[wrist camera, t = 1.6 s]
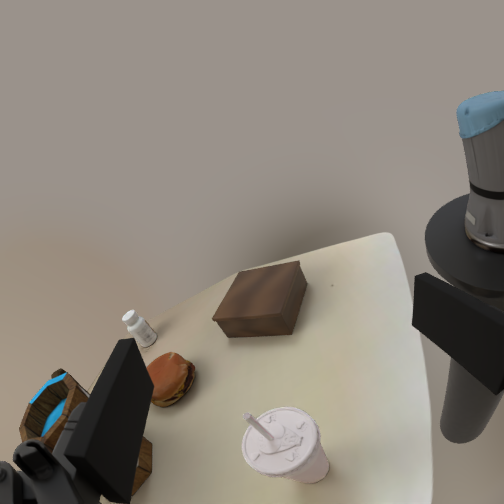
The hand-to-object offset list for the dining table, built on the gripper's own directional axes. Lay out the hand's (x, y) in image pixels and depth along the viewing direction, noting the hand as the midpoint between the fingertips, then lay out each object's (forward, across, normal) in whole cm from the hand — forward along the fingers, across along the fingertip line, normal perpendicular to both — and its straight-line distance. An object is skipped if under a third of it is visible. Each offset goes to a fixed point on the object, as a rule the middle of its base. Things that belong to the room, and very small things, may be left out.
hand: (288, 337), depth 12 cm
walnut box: (+35, +3, -16) cm, 38 cm away
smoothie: (+6, +2, -21) cm, 22 cm away
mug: (+17, -26, -28) cm, 42 cm away
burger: (+27, -15, -23) cm, 39 cm away
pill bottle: (+44, -23, -22) cm, 54 cm away
